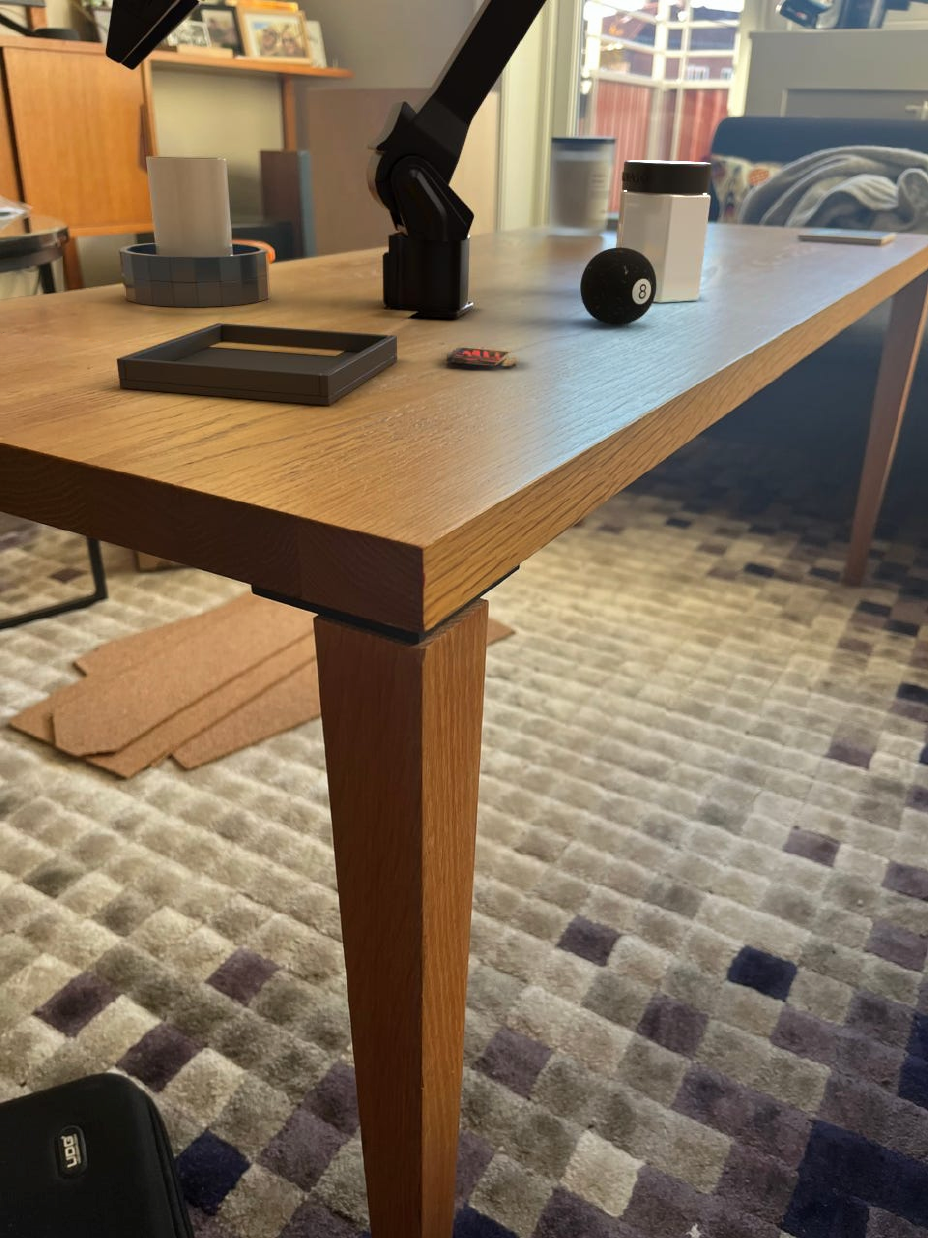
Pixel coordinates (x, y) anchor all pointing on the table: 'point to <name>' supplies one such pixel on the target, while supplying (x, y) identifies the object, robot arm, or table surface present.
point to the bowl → (195, 277)
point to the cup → (190, 205)
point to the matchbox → (480, 356)
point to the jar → (667, 222)
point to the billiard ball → (618, 286)
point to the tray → (259, 364)
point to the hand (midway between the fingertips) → (119, 63)
